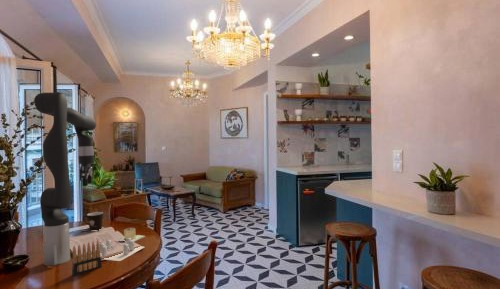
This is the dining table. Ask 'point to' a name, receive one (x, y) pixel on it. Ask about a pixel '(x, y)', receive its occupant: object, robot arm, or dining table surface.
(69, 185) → the robot arm
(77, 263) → the ammunition clip
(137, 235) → the rubber mat
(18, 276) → the dining table surface
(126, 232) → the brass nut
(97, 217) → the coffee mug
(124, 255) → the spacer plate
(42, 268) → the dining table surface
